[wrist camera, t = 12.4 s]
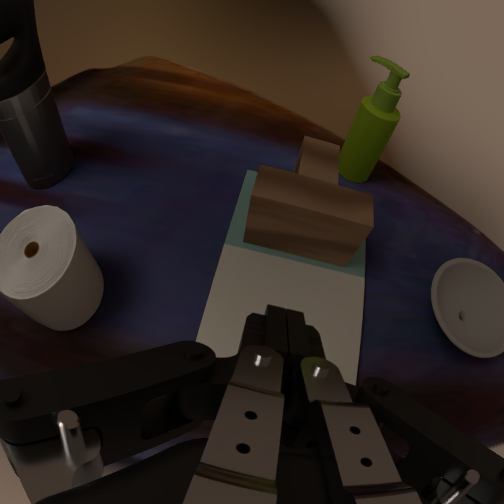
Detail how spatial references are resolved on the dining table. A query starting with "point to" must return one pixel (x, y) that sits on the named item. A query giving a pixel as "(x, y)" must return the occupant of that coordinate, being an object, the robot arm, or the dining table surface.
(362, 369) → the dining table surface
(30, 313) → the toilet tissue
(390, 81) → the soap dispenser
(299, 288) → the board
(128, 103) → the dining table surface
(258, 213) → the t block
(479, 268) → the dish
